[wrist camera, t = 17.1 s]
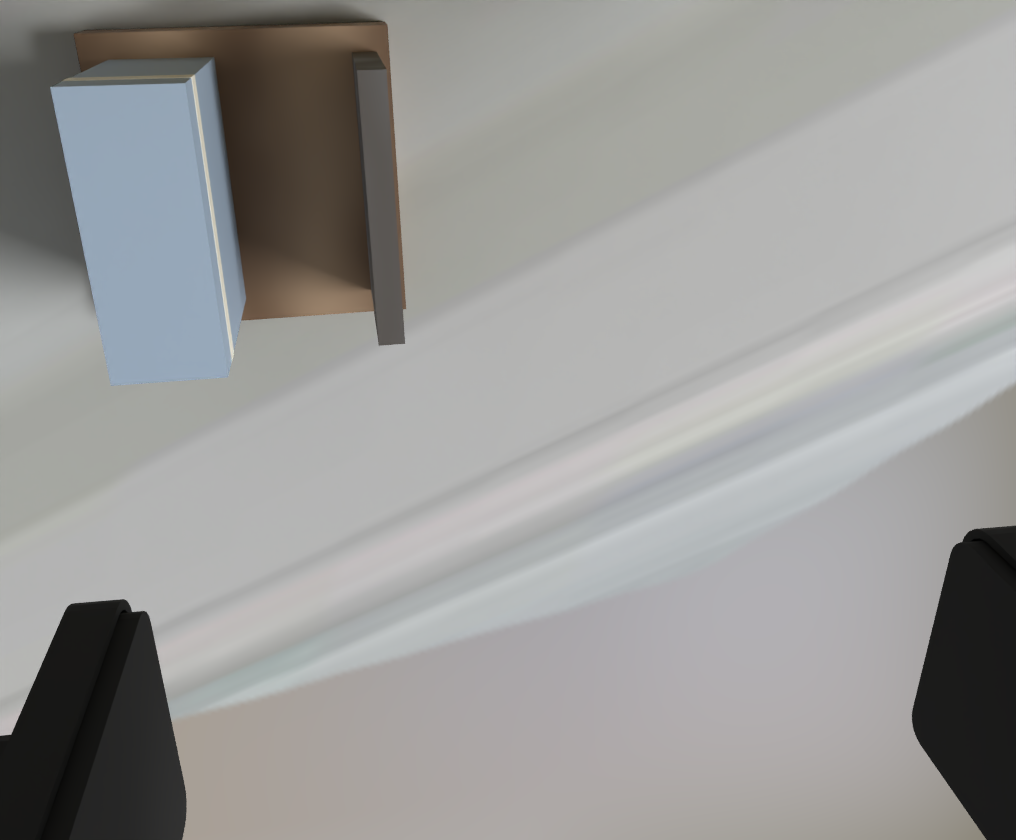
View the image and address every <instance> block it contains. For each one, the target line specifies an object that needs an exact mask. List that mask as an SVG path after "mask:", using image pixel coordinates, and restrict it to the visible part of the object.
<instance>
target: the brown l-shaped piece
mask: <svg viewBox="0 0 1016 840" xmlns="http://www.w3.org/2000/svg"><path fill="white" fill-rule="evenodd" d="M74 39H75V44H76V49H77V54H78V59H79V64H80V69H81V72H83V71H86V70H88V69H90V68H92V67H94V66H96V65H98V64H100V63H103V62H105V61H107V60H117V59H158V58H198V57H214V59H215V67H216V74H217V82H218V89H219V97H220V105H221V112H222V120H223V127H224V135H225V142H226V150H227V158H228V165H229V173H230V180H231V188H232V195H233V203H234V211H235V218H236V226H237V233H238V241H239V248H240V256H241V264H242V271H243V279H244V286H245V294H246V301H245V306H244V310H243V314H242V319H241V320H255V319H269V318H283V317H297V316H311V315H325V314H339V313H353V312H367V311H374V314H375V321H376V328H377V335H378V342H379V345H392V344H405V337H404V322H403V309H406V302H405V286H404V271H403V256H402V241H401V225H400V210H399V195H398V180H397V164H396V149H395V134H394V119H393V104H392V88H391V73H390V58H389V43H388V27H387V24H386V23H385V22H362V23H327V24H291V25H256V26H220V27H185V28H149V29H114V30H84V31H81V32H78V33H74Z"/></svg>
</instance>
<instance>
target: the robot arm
mask: <svg viewBox="0 0 1016 840" xmlns="http://www.w3.org/2000/svg"><path fill="white" fill-rule="evenodd" d="M912 723H913V728H914V732H915V735H916V737H917V739H918V741H919V743H920V745H921V746H922V748H923V749H924V750H925V752H926V753H927V755H928V756H929V757H930V759H931V761H932V762H933V763H934V765H935V766H936V767H937V769H938V770H939V772H940V773H941V775H942V776H943V778H944V779H945V780H946V782H947V783H948V785H949V786H950V788H951V789H952V790H953V792H954V793H955V795H956V796H957V798H958V799H959V801H960V802H961V803H962V805H963V806H964V808H965V809H966V811H967V812H968V814H969V815H970V816H971V818H972V819H973V821H974V822H975V823H976V825H977V826H978V828H979V829H980V831H981V832H982V834H983V835H984V836H985V838H986V839H987V840H1016V526H1007V527H995V528H983V529H974V530H972V531H969V532H968V533H967V534H966V536H965V537H964V539H963V542H961V543H958V544H956V545H955V546H954V547H953V549H952V552H951V555H950V558H949V563H948V567H947V571H946V575H945V579H944V583H943V587H942V591H941V596H940V599H939V604H938V608H937V612H936V616H935V620H934V624H933V628H932V632H931V636H930V640H929V645H928V649H927V653H926V657H925V661H924V665H923V669H922V673H921V677H920V682H919V686H918V690H917V695H916V698H915V702H914V706H913V711H912ZM185 821H186V791H185V785H184V780H183V776H182V771H181V766H180V761H179V756H178V751H177V746H176V742H175V737H174V732H173V727H172V722H171V718H170V713H169V708H168V703H167V698H166V694H165V689H164V684H163V679H162V674H161V670H160V665H159V660H158V655H157V650H156V646H155V641H154V636H153V631H152V626H151V622H150V618H149V616H148V614H147V612H145V611H140V612H132V611H131V607H130V605H129V603H128V602H127V601H126V600H124V599H122V600H110V601H98V602H86V603H74V604H71V605H69V606H68V607H67V609H66V610H65V612H64V615H63V617H62V619H61V621H60V624H59V626H58V628H57V631H56V633H55V635H54V638H53V640H52V642H51V644H50V647H49V649H48V651H47V654H46V656H45V658H44V661H43V663H42V665H41V667H40V670H39V672H38V674H37V677H36V679H35V681H34V684H33V686H32V688H31V691H30V693H29V695H28V697H27V700H26V702H25V704H24V707H23V709H22V711H21V714H20V716H19V718H18V720H17V723H16V725H15V727H14V730H13V732H12V734H11V735H4V736H0V840H182V837H183V832H184V827H185Z"/></svg>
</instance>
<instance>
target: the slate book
mask: <svg viewBox="0 0 1016 840" xmlns="http://www.w3.org/2000/svg"><path fill="white" fill-rule="evenodd" d="M50 89H51V93H52V98H53V103H54V108H55V113H56V118H57V123H58V128H59V133H60V138H61V143H62V148H63V152H64V157H65V162H66V167H67V172H68V177H69V182H70V187H71V192H72V197H73V202H74V206H75V211H76V216H77V221H78V226H79V231H80V236H81V241H82V246H83V251H84V256H85V260H86V265H87V270H88V275H89V280H90V285H91V290H92V295H93V300H94V305H95V310H96V315H97V319H98V324H99V329H100V334H101V339H102V344H103V349H104V354H105V359H106V364H107V369H108V373H109V378H110V383H111V386H114V385H128V384H142V383H156V382H169V381H183V380H197V379H211V378H225V377H228V375H229V371H230V366H231V362H232V361H233V356H234V349H235V345H236V340H237V336H238V332H239V327H240V323H241V319H242V314H243V310H244V306H245V301H246V294H245V286H244V279H243V271H242V264H241V256H240V248H239V241H238V233H237V226H236V218H235V211H234V203H233V195H232V188H231V180H230V173H229V165H228V158H227V150H226V142H225V135H224V127H223V120H222V112H221V105H220V97H219V89H218V82H217V74H216V67H215V59H214V57H198V58H158V59H117V60H107V61H105V62H103V63H100V64H98V65H96V66H94V67H92V68H90V69H88V70H86V71H83V72H81V73H79V74H77V75H75V76H73V77H71V78H66V79H64V80H62V82H60V83H58V84H56V85H54V86H51V87H50Z"/></svg>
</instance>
